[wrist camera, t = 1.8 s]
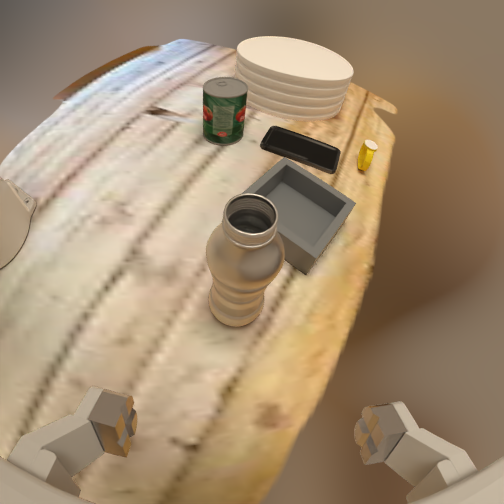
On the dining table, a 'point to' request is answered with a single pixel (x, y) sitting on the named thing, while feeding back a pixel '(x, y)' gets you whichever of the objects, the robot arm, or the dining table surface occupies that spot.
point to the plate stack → (292, 78)
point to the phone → (301, 149)
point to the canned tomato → (224, 110)
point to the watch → (368, 150)
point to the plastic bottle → (243, 258)
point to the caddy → (303, 211)
